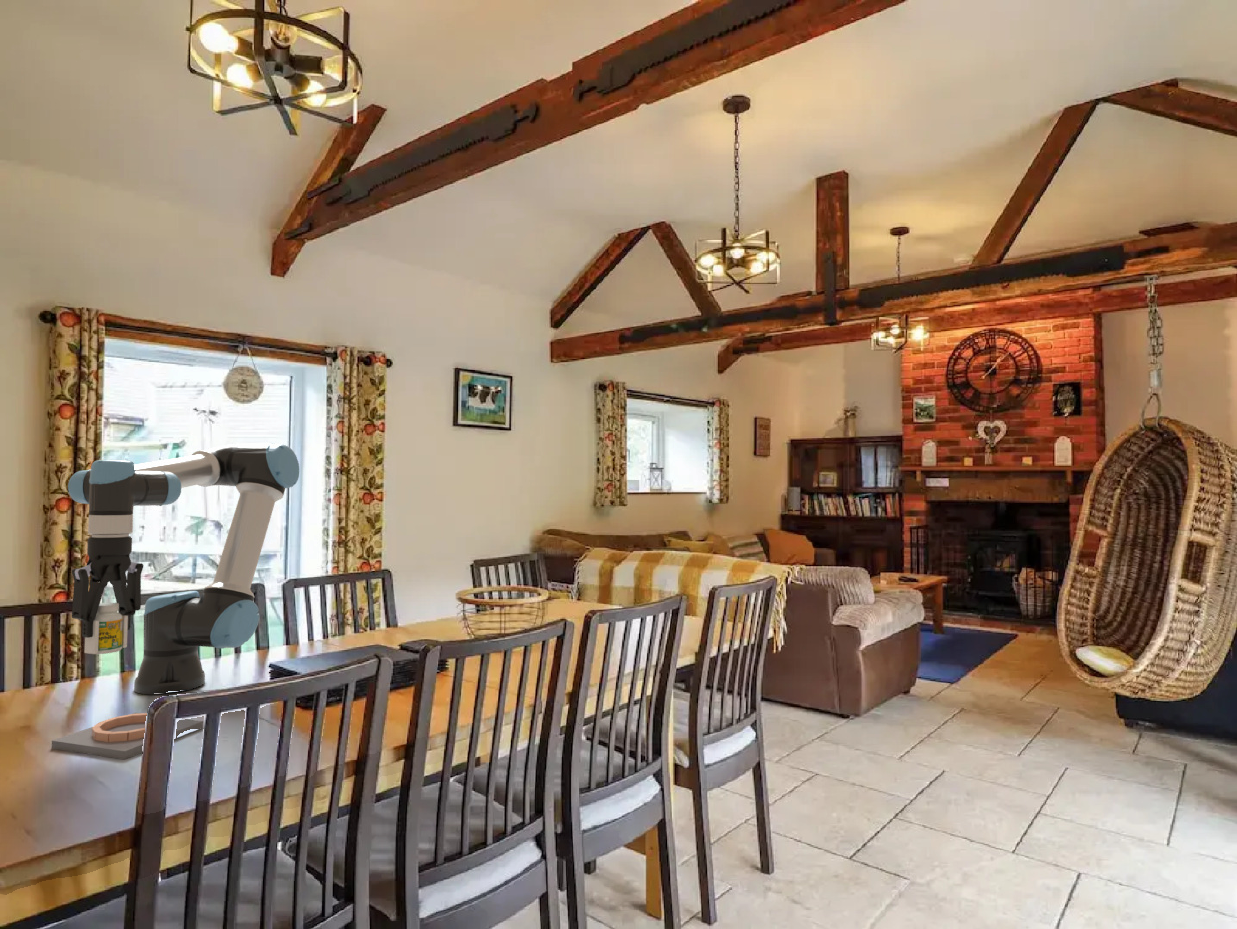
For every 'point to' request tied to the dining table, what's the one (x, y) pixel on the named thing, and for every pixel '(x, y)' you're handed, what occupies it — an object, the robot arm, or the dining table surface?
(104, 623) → the supplement bottle
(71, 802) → the dining table surface
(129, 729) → the coaster stand
